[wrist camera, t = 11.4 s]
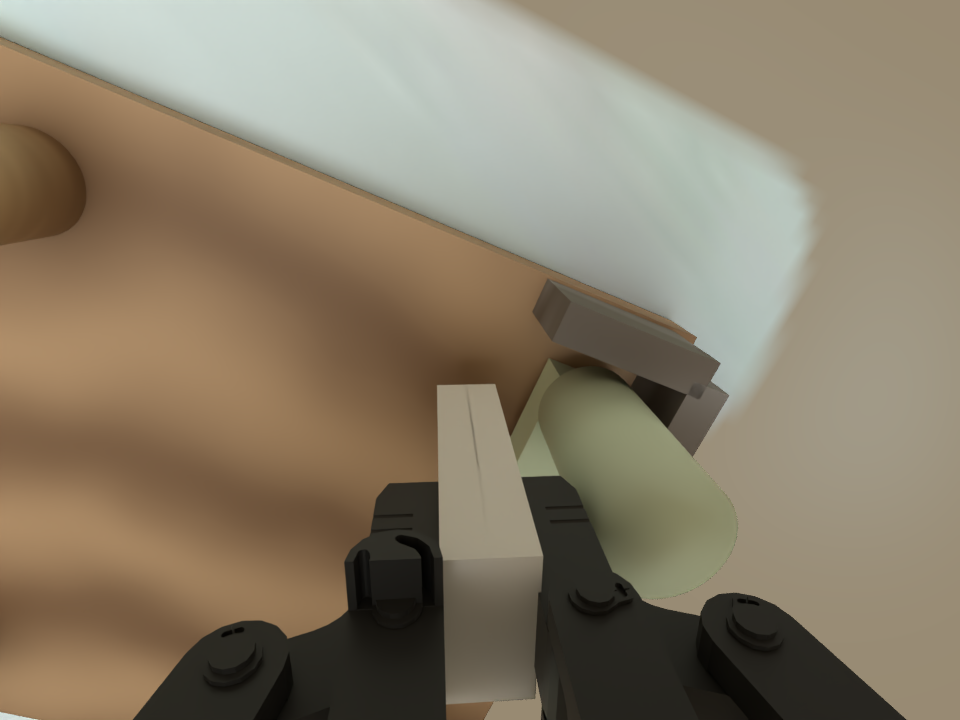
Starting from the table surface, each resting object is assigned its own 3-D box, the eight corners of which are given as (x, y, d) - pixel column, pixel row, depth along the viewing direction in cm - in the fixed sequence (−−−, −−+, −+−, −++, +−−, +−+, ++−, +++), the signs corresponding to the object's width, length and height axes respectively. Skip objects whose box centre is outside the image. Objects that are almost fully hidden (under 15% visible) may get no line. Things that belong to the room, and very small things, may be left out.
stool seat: (438, 753, 25) (440, 1079, 16) (-104, 633, 21) (-510, 986, 12) (671, 320, 19) (880, 456, 10) (-22, 28, 15) (-716, -184, 6)
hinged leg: (496, 630, 20) (529, 871, 13) (415, 607, 20) (404, 847, 13) (637, 369, 17) (774, 505, 10) (546, 333, 17) (627, 451, 10)
